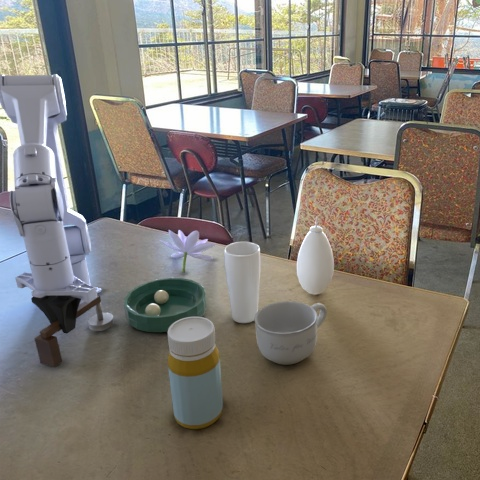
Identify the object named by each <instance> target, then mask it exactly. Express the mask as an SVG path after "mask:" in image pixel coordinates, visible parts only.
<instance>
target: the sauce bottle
mask: <svg viewBox="0 0 480 480" xmlns="http://www.w3.org/2000/svg"><path fill="white" fill-rule="evenodd" d="M318 224H319V223H318V215H316V216H315V222H314V225H313V226H310V227H309V231H308V232H307V234H306V235H305V236H304V238H303V240H302V243H301V245H300V248H299V250H298V254H297V260H296V275H297V278H298V279H297V280H298V282H299V285H300V286H301V288H302V289H303V291H305V292H307V293H308V294H310V295H314V296H317V295H320V294H322V293H323V292H325V291H326V290H327V289H328V287H329V285H330V284H331V282H332V279H333V276H334V272H335V271H334V270H335V259H334V252H333V249H332V246H331V243H330V240H329V239H328V237H327V235H326V233H325V232H324V230H323V227H322V226H320V225H318Z"/></svg>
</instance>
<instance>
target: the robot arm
mask: <svg viewBox="0 0 480 480" xmlns="http://www.w3.org/2000/svg"><path fill="white" fill-rule="evenodd" d="M64 90H65V89H64V86H63V81H62V78H61V76H59V75H58V74H57V73H53V74H23V75H22V74H17V75H16V74H15V75H13V74H12V75H11V74H10V75H9V74H8V75H6V74H0V106H1V108H2V109H3V111H4V112H5V114H6V115H7V117H8V118H9V120H10V121H11V122H12V123H13V124H16V125H17V129H18V136H19V140H20V146H18V147H16V148H15V150H14V152H13V154H12V156H13V157H12V159H13V179H14V190H10V192H9V206H10V211H11V215H12V217H13V220H14V222H15V224H16V226H17V229H18V233H19V236H20V237H22V238H23V243H24V247H25V251H26V254H27V255H26V256H27V259H28V263H29V267H30V271H31V272H23V273H21V274H19V275H17V276H15V277H14V278H15V282H16V287H17V288H18V289H24V288H28V289H30V290H31V293H30V294H31V298H30V300H31V303H32V304H33V305H35V306H36V308H38V309H39V310H40V311H41V312H42V313H43V314H44V316H45V317H46V319H47V320H48V322H49V323H50V325H51V324H52V323H53V322H55V321H56V320H59V324H60V327H61V330H59V331H58V332H57V333H59V332H60V331H62V333H63V334H65V335H68V334H70V333H71V332H72V331H73V330H74V329H76V324H77V318H76V316H77V310H78V307H79V305H80V304H82V303H83V302H87V303H89V302H91V301H93V300H94V299H95V298H97V295H98V294H99V293H100V292H102V288H100V287H96V286H93V285H92V283H91V279H90V274H89V268H88V263H87V257H86V256H88V255H90V253H91V252H92V245H91V237H90V232H89V228H88V226H87V225H88V224H87V219H85V217H84V216H83V215H82V214H80V213H78V212H76V211H74V210H72V209H70V208H69V203H68V198H67V197H68V196H67V191H66V185H65V179H64V174H63V169H62V162H61V157H60V150H59V144H58V138H57V132H58V126H59V125H60V124H62V123H65V122H66V121H67V116H68V113H67V106H66V105H67V103H66V95H65V91H64Z"/></svg>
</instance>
